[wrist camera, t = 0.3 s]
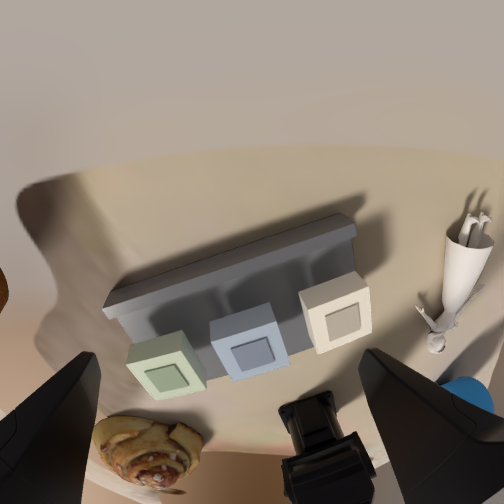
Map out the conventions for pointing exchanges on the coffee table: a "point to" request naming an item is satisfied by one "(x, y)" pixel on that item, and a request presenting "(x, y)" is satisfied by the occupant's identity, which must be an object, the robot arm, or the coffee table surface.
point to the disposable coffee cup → (3, 291)
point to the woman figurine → (459, 278)
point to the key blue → (249, 342)
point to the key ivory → (337, 311)
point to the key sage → (167, 366)
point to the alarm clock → (471, 392)
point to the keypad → (238, 288)
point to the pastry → (147, 450)
